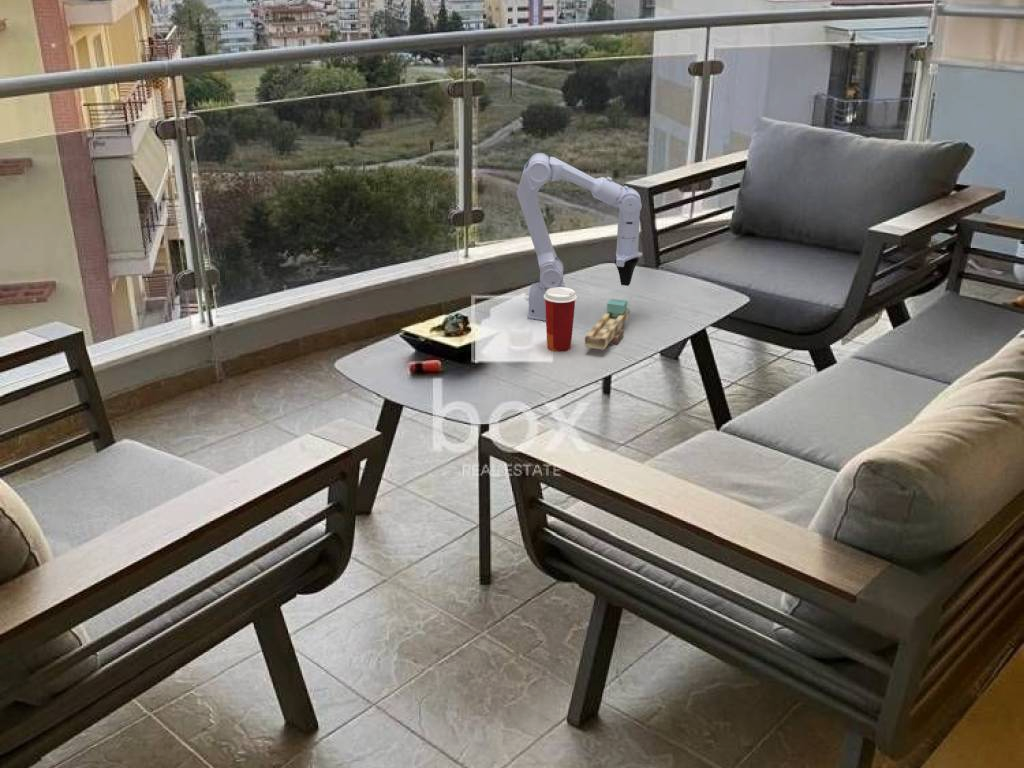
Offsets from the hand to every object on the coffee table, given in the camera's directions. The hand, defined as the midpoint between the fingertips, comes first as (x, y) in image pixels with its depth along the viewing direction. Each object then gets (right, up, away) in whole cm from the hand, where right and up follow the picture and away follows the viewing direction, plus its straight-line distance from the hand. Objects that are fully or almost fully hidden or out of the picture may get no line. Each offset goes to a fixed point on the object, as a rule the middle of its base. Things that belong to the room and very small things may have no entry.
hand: (625, 284), depth 273 cm
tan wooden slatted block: (-6, -15, -10) cm, 19 cm away
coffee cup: (-19, -18, -15) cm, 30 cm away
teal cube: (-3, -9, -4) cm, 10 cm away
